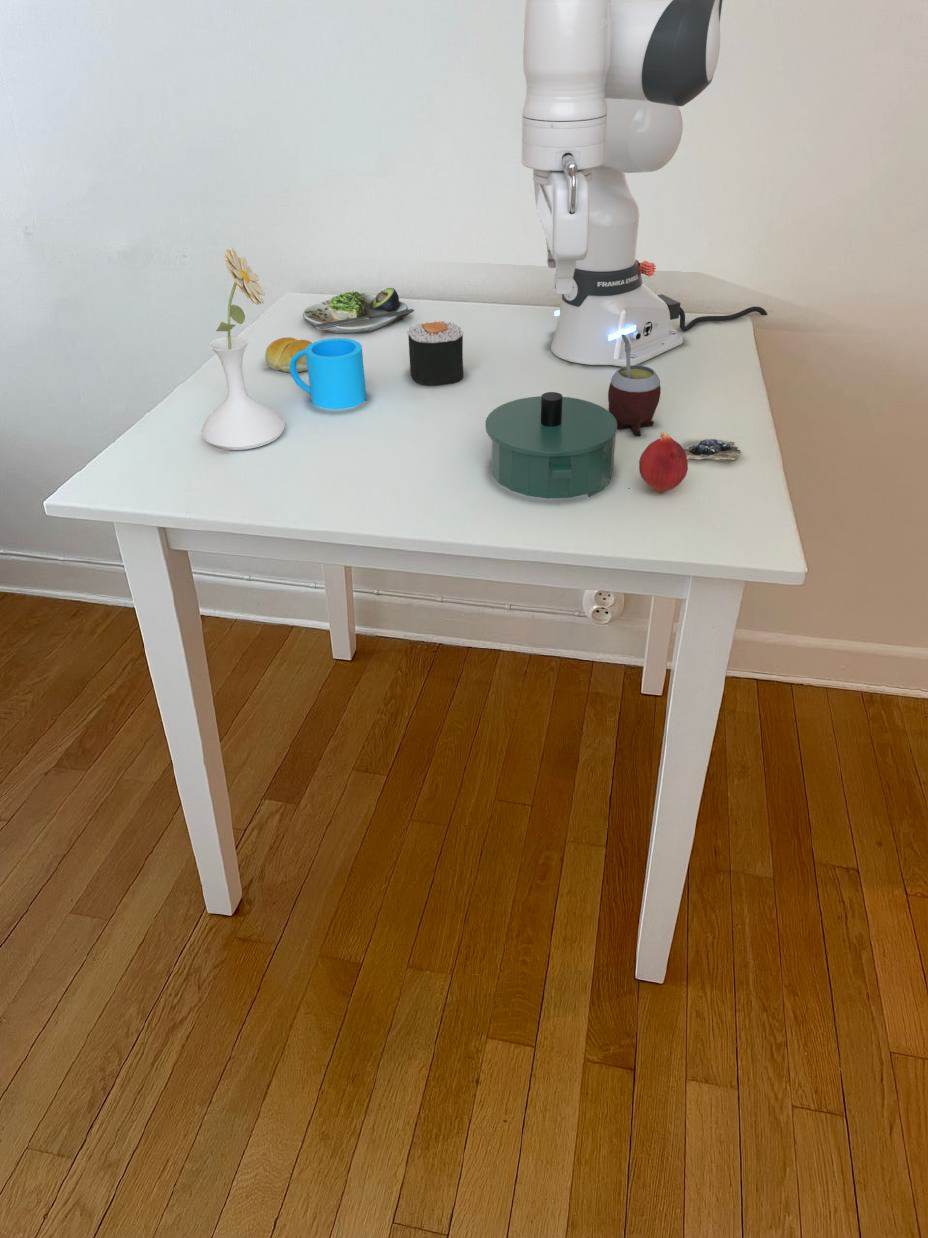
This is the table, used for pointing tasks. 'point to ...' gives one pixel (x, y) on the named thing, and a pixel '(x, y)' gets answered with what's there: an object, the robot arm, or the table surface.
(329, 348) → the mug
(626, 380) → the mate gourd
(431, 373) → the sushi
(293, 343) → the bread roll
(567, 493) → the pot
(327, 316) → the salad plate
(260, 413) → the flower in vase
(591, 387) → the table surface
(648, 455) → the onion
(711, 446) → the blueberries
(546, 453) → the lid
